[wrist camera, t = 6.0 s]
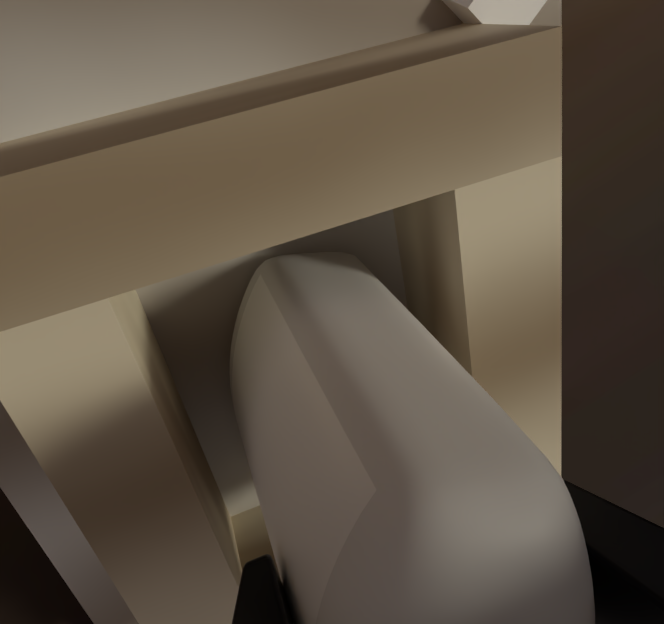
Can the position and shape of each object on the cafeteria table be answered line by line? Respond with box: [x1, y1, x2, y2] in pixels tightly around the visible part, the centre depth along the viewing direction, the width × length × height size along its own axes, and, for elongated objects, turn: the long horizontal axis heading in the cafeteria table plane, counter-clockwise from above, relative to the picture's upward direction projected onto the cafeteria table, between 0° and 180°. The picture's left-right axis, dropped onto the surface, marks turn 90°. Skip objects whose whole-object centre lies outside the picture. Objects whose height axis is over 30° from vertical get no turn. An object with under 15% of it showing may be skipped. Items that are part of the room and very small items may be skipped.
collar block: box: [0, 0, 562, 624], centre depth 13 cm, size 16×14×4 cm
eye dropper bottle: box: [230, 252, 595, 624], centre depth 8 cm, size 4×6×12 cm
